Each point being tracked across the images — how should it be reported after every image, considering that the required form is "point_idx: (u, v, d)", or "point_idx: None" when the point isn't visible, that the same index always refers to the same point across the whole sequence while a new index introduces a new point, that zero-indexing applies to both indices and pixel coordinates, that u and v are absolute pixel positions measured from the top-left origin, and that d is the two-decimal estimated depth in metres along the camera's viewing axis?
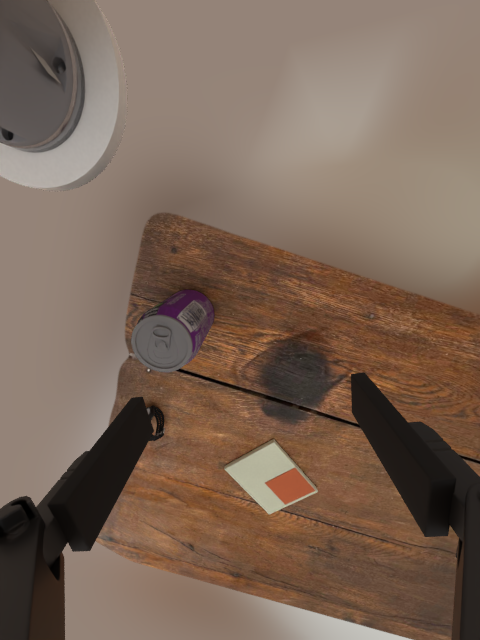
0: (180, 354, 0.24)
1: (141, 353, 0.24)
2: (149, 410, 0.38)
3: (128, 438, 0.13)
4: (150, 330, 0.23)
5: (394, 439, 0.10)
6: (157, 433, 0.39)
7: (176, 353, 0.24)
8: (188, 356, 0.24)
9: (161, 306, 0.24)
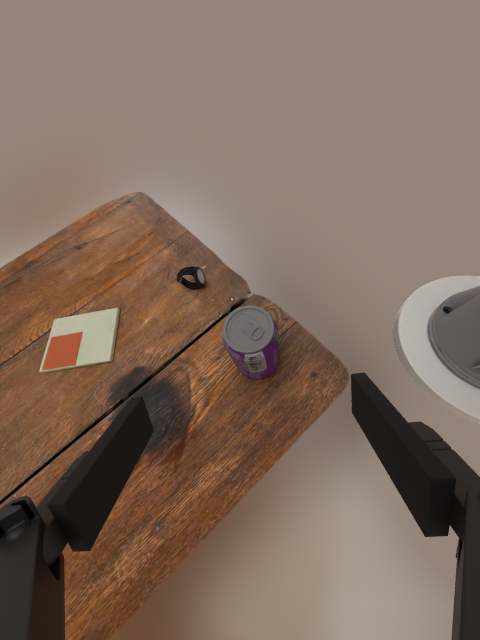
0: (232, 336, 0.28)
1: (250, 309, 0.29)
2: (202, 282, 0.44)
3: (128, 438, 0.13)
4: (263, 326, 0.28)
5: (394, 439, 0.10)
6: (181, 277, 0.45)
7: (235, 334, 0.28)
8: (227, 342, 0.28)
9: (276, 344, 0.29)
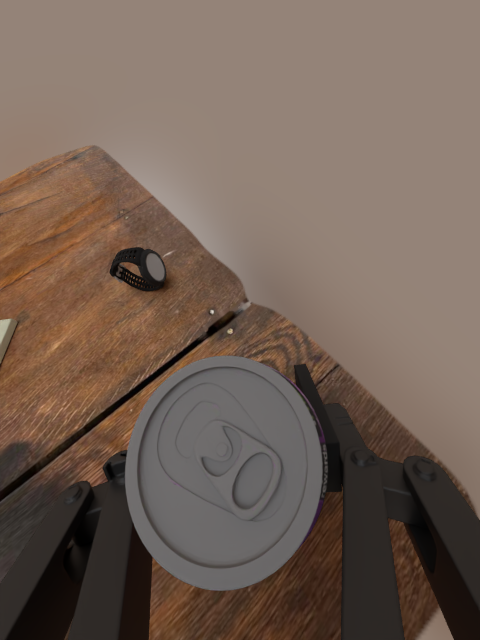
0: (160, 482, 0.07)
1: (233, 371, 0.09)
2: (157, 279, 0.24)
3: None
4: (277, 448, 0.07)
5: None
6: (121, 269, 0.25)
7: (171, 472, 0.08)
8: (135, 512, 0.07)
9: None
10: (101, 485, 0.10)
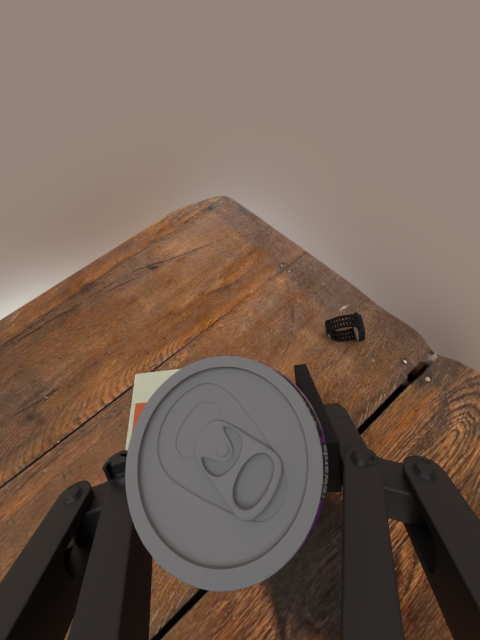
0: (160, 482, 0.07)
1: (233, 371, 0.09)
2: None
3: None
4: (277, 449, 0.07)
5: None
6: None
7: (171, 472, 0.08)
8: (135, 512, 0.07)
9: None
10: (101, 485, 0.10)
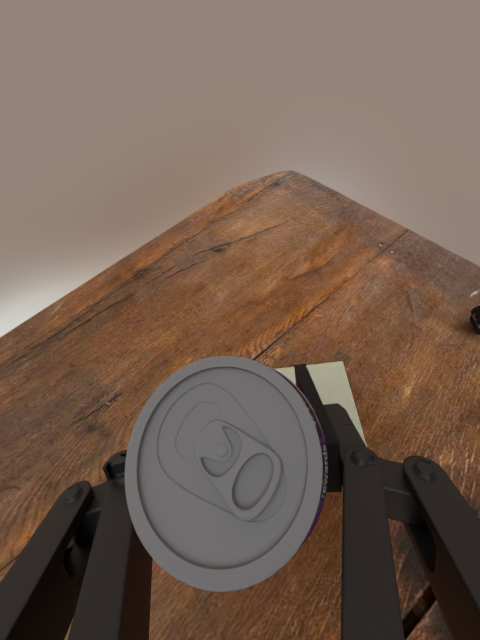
0: (160, 482, 0.07)
1: (233, 371, 0.09)
2: None
3: None
4: (277, 449, 0.07)
5: None
6: (474, 314, 0.25)
7: (170, 472, 0.07)
8: (134, 513, 0.07)
9: None
10: (101, 485, 0.10)
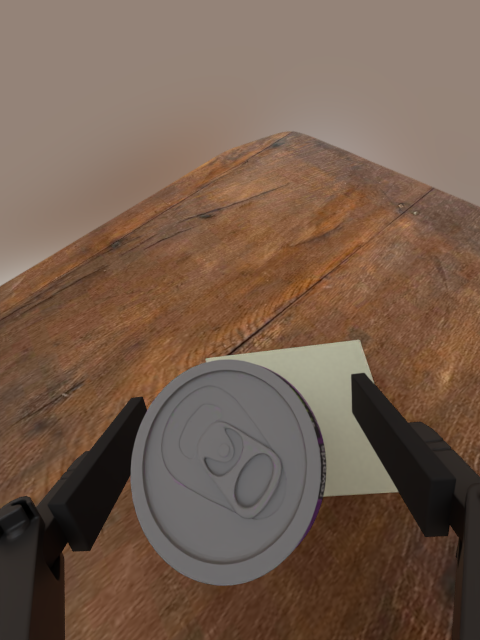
0: (164, 482, 0.08)
1: (234, 374, 0.09)
2: None
3: (128, 438, 0.13)
4: (277, 449, 0.08)
5: (394, 439, 0.10)
6: None
7: (175, 472, 0.08)
8: (140, 511, 0.07)
9: None
10: None
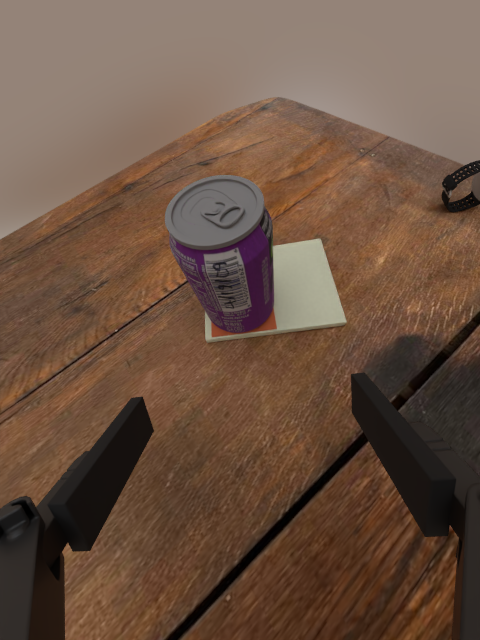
0: (183, 224, 0.14)
1: (221, 183, 0.16)
2: None
3: (128, 438, 0.13)
4: (242, 205, 0.14)
5: (394, 439, 0.10)
6: None
7: (188, 221, 0.15)
8: (171, 230, 0.14)
9: (267, 244, 0.15)
10: None
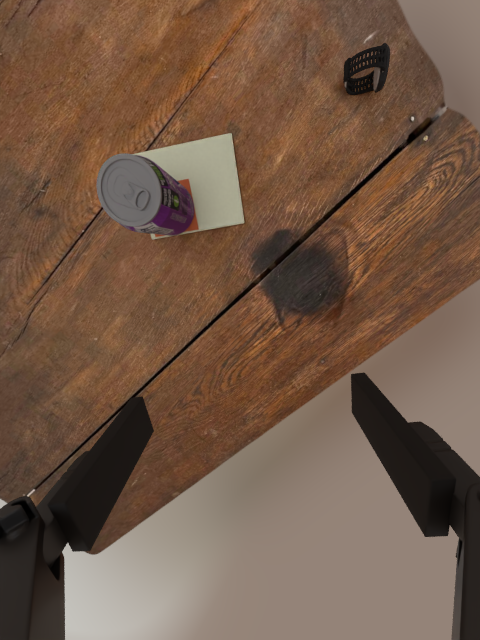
0: (113, 204, 0.23)
1: (127, 160, 0.22)
2: None
3: (128, 438, 0.13)
4: (147, 189, 0.22)
5: (394, 439, 0.10)
6: None
7: (115, 201, 0.23)
8: (108, 212, 0.23)
9: (170, 209, 0.24)
10: None
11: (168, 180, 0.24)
